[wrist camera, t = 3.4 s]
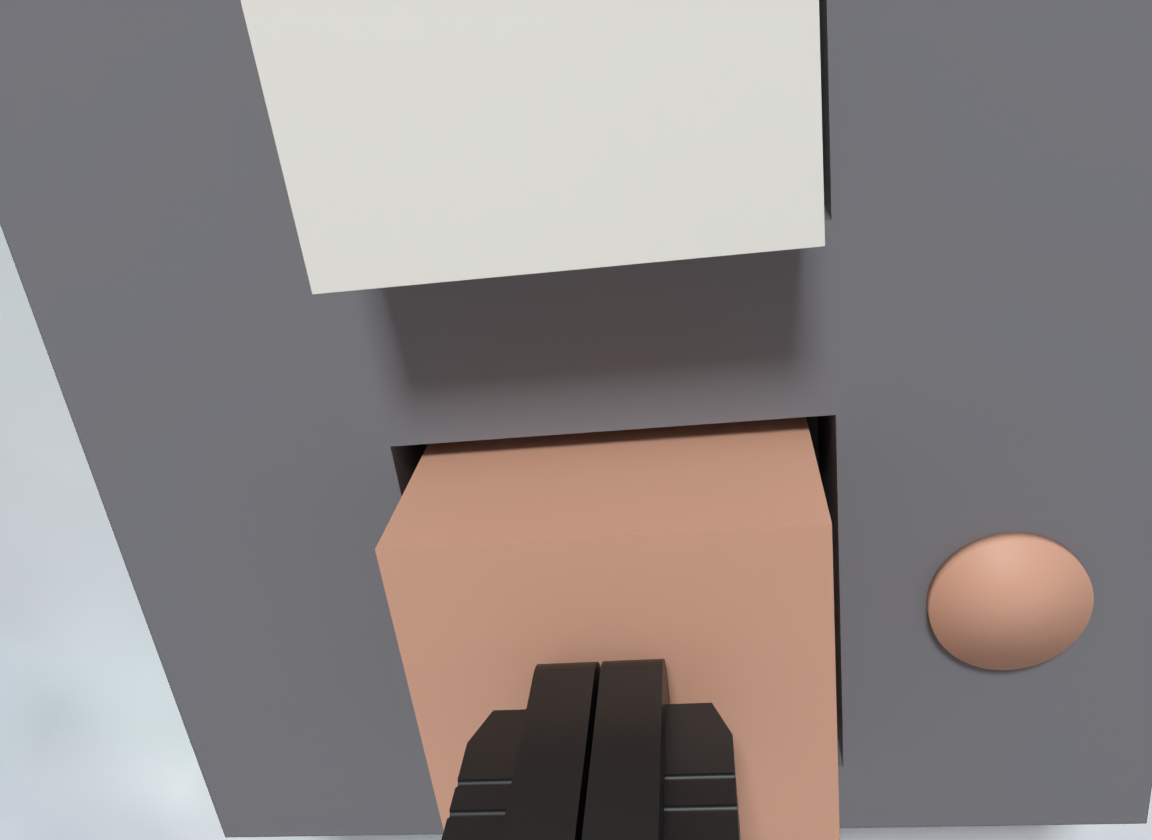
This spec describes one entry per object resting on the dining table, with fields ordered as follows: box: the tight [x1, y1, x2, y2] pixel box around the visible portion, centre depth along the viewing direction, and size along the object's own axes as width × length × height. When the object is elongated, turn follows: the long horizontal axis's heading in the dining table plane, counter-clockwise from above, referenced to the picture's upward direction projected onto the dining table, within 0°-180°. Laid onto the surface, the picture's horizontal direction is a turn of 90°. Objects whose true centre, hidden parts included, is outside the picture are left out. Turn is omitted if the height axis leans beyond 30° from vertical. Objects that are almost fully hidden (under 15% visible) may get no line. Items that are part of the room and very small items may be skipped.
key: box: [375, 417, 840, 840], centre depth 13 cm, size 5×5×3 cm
